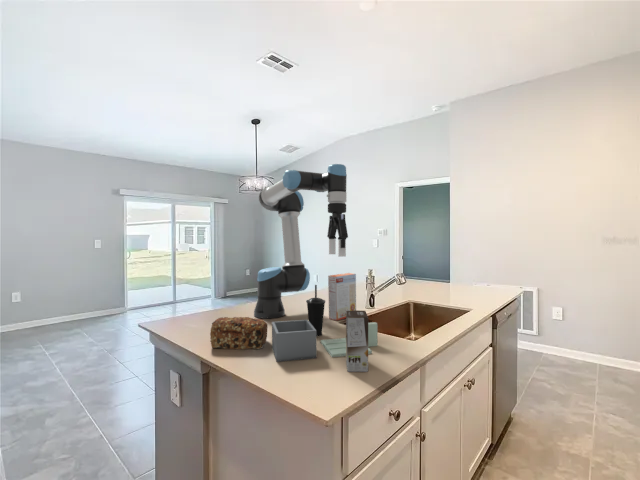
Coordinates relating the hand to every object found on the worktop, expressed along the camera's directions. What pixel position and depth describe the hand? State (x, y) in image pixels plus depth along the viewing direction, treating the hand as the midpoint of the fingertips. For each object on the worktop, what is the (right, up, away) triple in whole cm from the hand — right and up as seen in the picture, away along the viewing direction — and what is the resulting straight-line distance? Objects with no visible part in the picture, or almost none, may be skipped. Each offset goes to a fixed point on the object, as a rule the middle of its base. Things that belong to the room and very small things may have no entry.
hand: (336, 255), depth 133 cm
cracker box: (+4, -31, +25) cm, 40 cm away
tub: (-16, -32, -22) cm, 42 cm away
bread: (-36, -32, -14) cm, 50 cm away
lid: (+4, -32, -17) cm, 36 cm away
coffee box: (+4, -32, -33) cm, 47 cm away
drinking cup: (-8, -32, -3) cm, 33 cm away
